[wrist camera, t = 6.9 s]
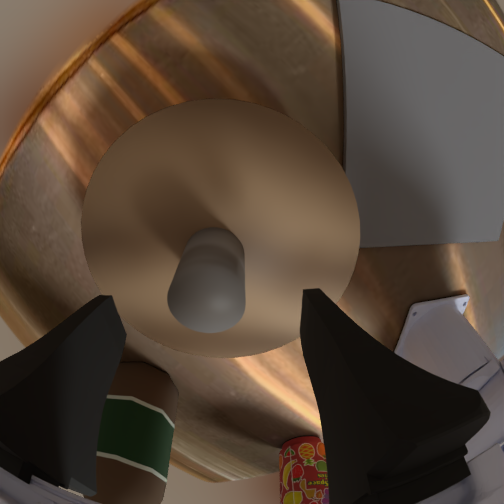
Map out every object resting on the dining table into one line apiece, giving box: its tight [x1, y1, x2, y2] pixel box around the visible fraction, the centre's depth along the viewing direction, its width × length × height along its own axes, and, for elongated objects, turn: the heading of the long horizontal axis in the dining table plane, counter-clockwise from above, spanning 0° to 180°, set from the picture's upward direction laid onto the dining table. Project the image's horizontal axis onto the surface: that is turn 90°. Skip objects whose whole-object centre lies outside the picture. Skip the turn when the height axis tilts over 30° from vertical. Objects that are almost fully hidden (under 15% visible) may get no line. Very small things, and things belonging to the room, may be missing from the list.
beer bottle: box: [83, 362, 179, 504], centre depth 15 cm, size 8×8×24 cm
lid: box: [81, 99, 360, 358], centre depth 13 cm, size 15×15×5 cm
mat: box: [336, 0, 504, 248], centre depth 15 cm, size 18×18×1 cm
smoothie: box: [279, 436, 329, 504], centre depth 25 cm, size 8×8×20 cm
